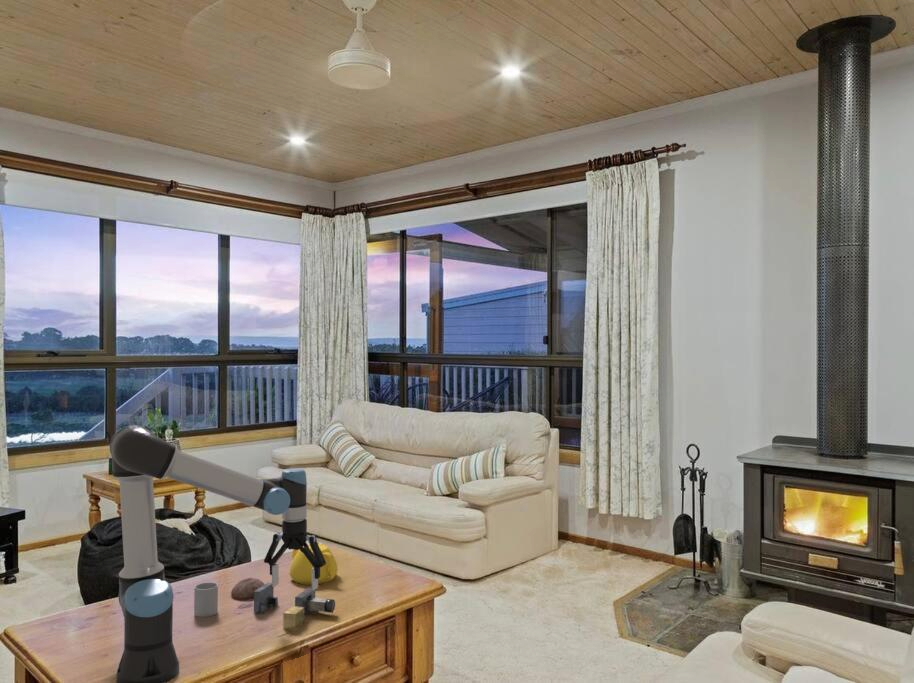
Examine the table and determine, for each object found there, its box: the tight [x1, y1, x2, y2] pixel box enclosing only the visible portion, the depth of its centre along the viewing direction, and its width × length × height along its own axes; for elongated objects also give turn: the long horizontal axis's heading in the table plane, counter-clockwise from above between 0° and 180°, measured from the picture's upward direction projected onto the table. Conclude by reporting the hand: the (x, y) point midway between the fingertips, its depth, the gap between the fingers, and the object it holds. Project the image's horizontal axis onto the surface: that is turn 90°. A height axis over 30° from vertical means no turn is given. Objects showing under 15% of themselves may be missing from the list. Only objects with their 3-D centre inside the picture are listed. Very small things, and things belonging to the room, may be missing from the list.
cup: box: [193, 581, 219, 618], centre depth 226 cm, size 7×10×9 cm
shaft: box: [306, 597, 336, 614], centre depth 225 cm, size 12×4×4 cm, turn 75°
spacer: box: [282, 605, 305, 631], centre depth 215 cm, size 4×6×5 cm, turn 165°
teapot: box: [289, 541, 339, 586], centre depth 261 cm, size 25×18×14 cm
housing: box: [253, 582, 316, 617], centre depth 228 cm, size 18×9×7 cm, turn 75°
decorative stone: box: [230, 577, 266, 601], centre depth 243 cm, size 12×12×6 cm
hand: (294, 587), depth 215 cm, fingers open, 13 cm apart
